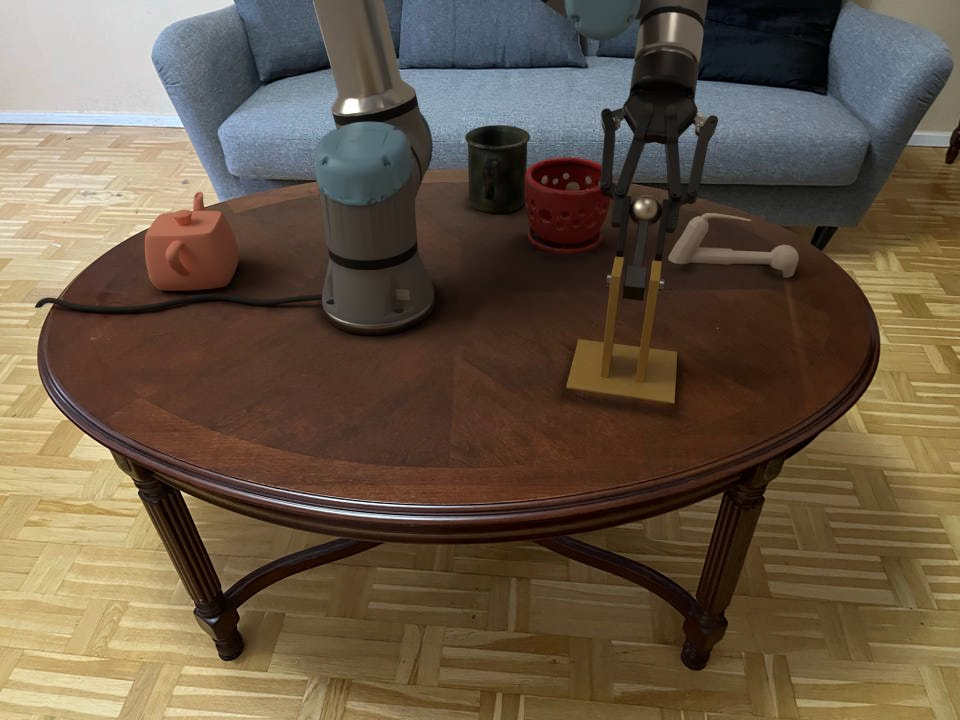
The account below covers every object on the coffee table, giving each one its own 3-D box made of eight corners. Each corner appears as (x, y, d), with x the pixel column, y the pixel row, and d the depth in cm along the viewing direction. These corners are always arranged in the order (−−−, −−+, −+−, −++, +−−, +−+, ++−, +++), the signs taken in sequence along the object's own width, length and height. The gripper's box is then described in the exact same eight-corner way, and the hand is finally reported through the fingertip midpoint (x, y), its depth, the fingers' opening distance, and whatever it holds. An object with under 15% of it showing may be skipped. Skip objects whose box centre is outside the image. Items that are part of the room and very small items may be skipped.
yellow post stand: (577, 348, 90) (586, 241, 81) (675, 361, 87) (695, 252, 79) (565, 397, 82) (573, 284, 73) (672, 413, 79) (694, 298, 71)
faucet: (777, 305, 106) (816, 250, 100) (668, 265, 105) (701, 206, 99) (772, 291, 109) (810, 237, 104) (666, 252, 108) (698, 195, 102)
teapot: (142, 308, 99) (119, 240, 93) (178, 249, 113) (160, 186, 107) (226, 305, 99) (209, 236, 93) (251, 246, 114) (237, 183, 108)
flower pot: (506, 240, 114) (507, 168, 107) (570, 220, 120) (575, 150, 113) (557, 273, 106) (562, 196, 99) (623, 249, 111) (632, 175, 104)
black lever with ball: (630, 208, 84) (632, 186, 81) (661, 210, 83) (664, 189, 80) (615, 300, 78) (617, 282, 75) (649, 304, 78) (652, 285, 74)
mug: (531, 192, 130) (534, 126, 123) (520, 226, 119) (522, 155, 112) (473, 188, 132) (472, 123, 125) (456, 222, 120) (454, 152, 113)
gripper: (734, 87, 86) (711, 274, 83) (595, 80, 89) (567, 259, 86) (745, 50, 79) (720, 253, 75) (594, 44, 82) (563, 238, 79)
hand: (639, 256), depth 81 cm, fingers closed on black lever with ball, 4 cm apart
